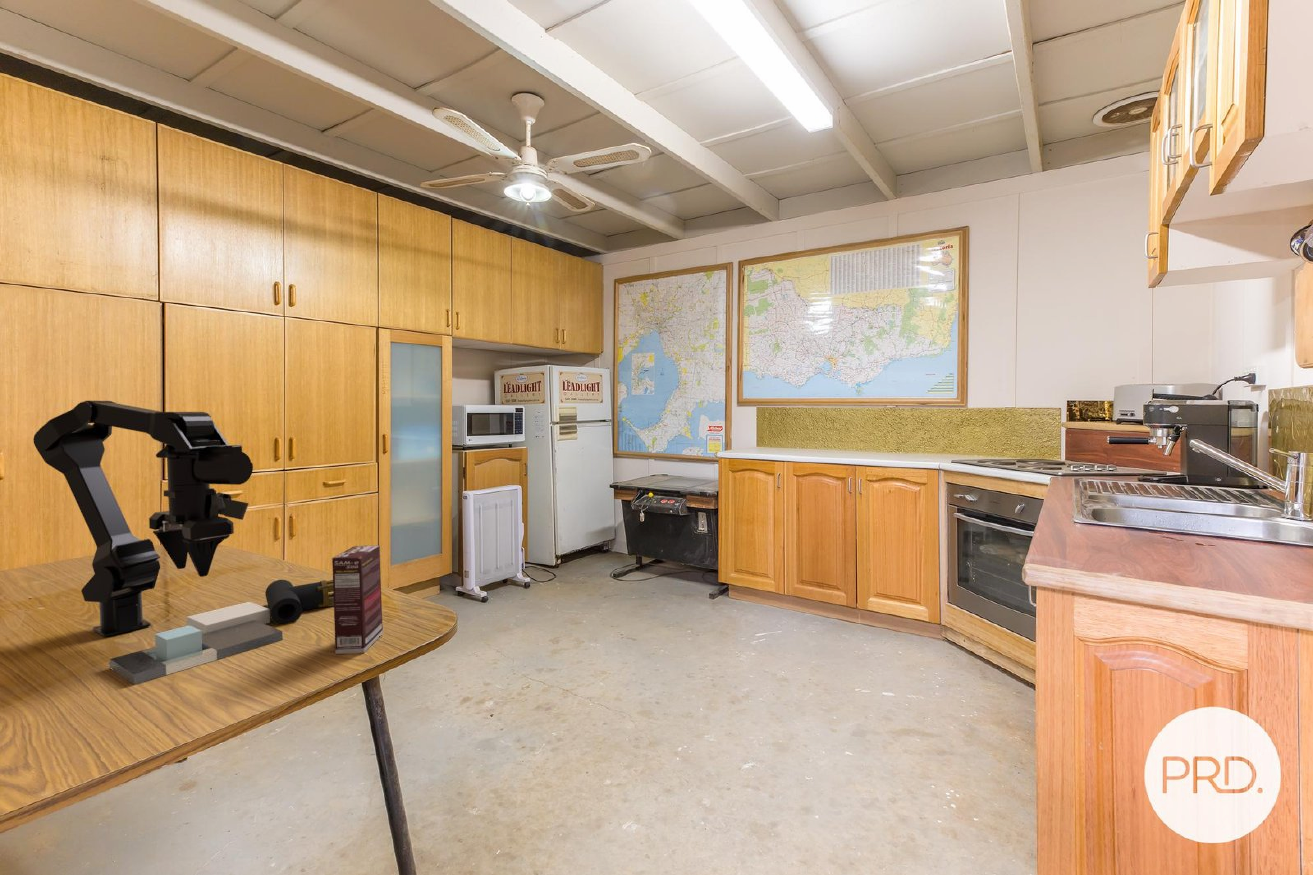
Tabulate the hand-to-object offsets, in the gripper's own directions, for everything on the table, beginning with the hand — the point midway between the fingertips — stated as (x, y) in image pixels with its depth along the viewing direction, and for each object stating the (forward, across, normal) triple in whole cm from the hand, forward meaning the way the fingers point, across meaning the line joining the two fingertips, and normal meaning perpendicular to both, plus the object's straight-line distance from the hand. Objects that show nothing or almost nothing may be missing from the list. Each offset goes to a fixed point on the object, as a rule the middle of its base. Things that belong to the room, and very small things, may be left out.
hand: (192, 572), depth 105 cm
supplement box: (+11, -29, -13) cm, 34 cm away
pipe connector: (+12, -2, -17) cm, 21 cm away
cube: (+11, -11, +6) cm, 17 cm away
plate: (+11, -11, +3) cm, 16 cm away
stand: (+11, -1, -5) cm, 12 cm away
